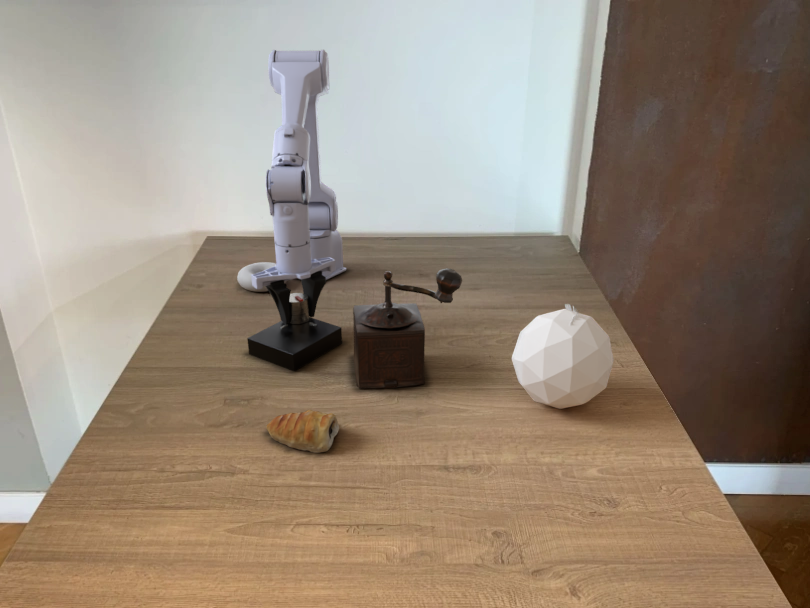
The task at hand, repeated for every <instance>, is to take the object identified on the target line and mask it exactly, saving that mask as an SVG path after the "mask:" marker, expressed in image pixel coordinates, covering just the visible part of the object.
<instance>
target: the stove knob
mask: <svg viewBox="0 0 810 608" xmlns="http://www.w3.org/2000/svg"><path fill="white" fill-rule="evenodd" d="M289 310H290V324H303V323H306V322H308V321H309V319H310V318H309V317H310V316H309V302H308V296H307V295H306V294H303V293H302V292H293V293H290V300H289Z"/></svg>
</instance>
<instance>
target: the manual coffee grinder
mask: <svg viewBox="0 0 810 608" xmlns="http://www.w3.org/2000/svg"><path fill="white" fill-rule="evenodd" d="M392 277H393V273H392V272H391V271H390V270H386V271H385V272H384V273H383V278H384V279H383V282H382V285H383V286H384V302H381V303H378V304H357V305H353V309H352V315H353V318H352V319H353V322H352V323H353V325H352V327H353V359H352V361H353V368H354V369H353V370H354V379H355V384H356V385H355V386H356V387H357V388H358V389H361V390H363V389H365V390H367V389H394V388H395V389H397V388H403V387H413V386H414V387H415V386H420V385H425V384H426V382H425V381H426V380H425V346H426V345H425V342H426V327H425V324H424V321H423V319H422V313H421V311H420V309H419V307H418V304H417V303H415V302H413V303H412V302H411V303H396V302H392V288H393V289H395V290H398V291H402V292H410V293H416V294H422V295H426V296H429V297H431V298H433V299H434V300H437V301H438V302H440V304H442V303H444V304H451V303H452V302H453V301H454V297H453V294H454V293H455V292H456V291H457V290H459V289H460V287H461V286H462V283H463V278H462V275H461V274H460V273H459V272H458V271H456V270H455V269H453V268H442V269H440V270H438V272H437V273H436V276H435V281H436V284H437V290H436V291H434V290H431V289H428V288H426V287H425V288H424V287H420V286H414V285H407V284H401V283H396V282H393V279H392Z"/></svg>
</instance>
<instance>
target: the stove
mask: <svg viewBox="0 0 810 608" xmlns="http://www.w3.org/2000/svg"><path fill="white" fill-rule="evenodd" d="M309 318H310V319H309V321H308V322H306V323H303V324H290V323H289V324H285V323H284V322H283V321H281V320H280V321H278V322H276V323H274V324H272V325H270V326H268V327H266V328H264V329H262V330H261V331H258V332H256V333H255V334H252V335H250V336H248V337H247V338H246V340H247V348H248V355H250V356H252V357H255V358H258V359H261V360H264V361H266V362H268V363H271V364H274V365H276V366H279V367H282V368H285V369H288V370H290V371H293V372H296V371H297V370H299V369H301V368H303V367H305V366H306V365H307V364H310V363H311V362H313V361H314V360H317V359H318V358H319V357H321V356H324V355H325V354H326V353H328V352H330V351H332V350H333V349H335V348H337V347H339V346H340V345H341V344H343V329H342V326H339V325H336V324H332V323H329V322H326V321H322V320H320V319H317V318H314V317H310V316H309Z"/></svg>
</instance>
